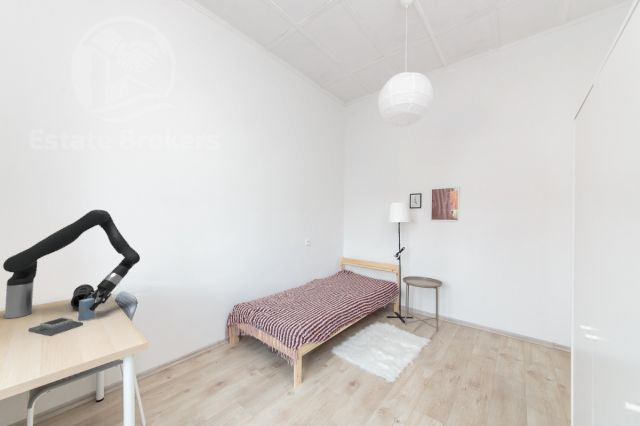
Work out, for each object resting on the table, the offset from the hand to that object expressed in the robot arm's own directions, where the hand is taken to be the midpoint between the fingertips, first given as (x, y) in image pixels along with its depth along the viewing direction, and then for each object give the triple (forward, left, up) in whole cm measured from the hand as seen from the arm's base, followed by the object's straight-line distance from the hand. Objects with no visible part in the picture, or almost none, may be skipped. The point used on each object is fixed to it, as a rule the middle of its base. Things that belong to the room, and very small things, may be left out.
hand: (85, 309), depth 128 cm
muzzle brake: (-28, +15, -6) cm, 32 cm away
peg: (0, +1, -5) cm, 5 cm away
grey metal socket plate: (0, -11, -5) cm, 12 cm away
